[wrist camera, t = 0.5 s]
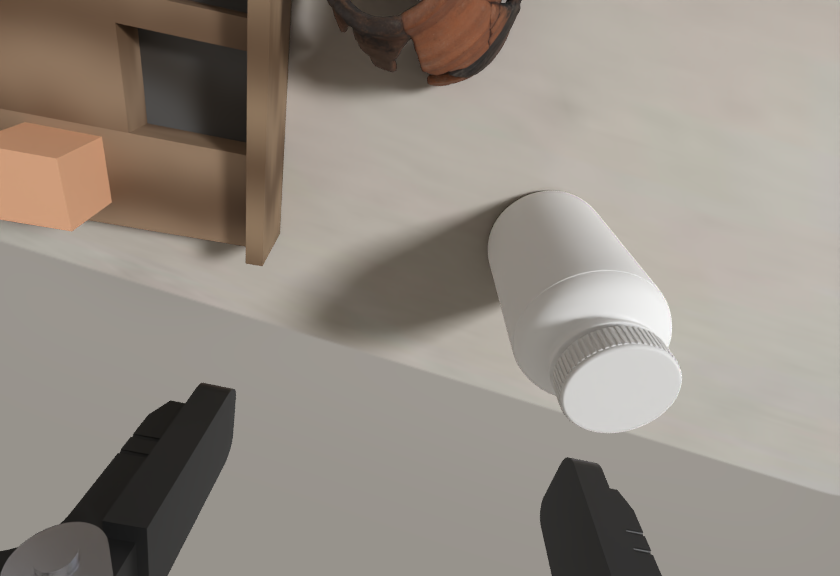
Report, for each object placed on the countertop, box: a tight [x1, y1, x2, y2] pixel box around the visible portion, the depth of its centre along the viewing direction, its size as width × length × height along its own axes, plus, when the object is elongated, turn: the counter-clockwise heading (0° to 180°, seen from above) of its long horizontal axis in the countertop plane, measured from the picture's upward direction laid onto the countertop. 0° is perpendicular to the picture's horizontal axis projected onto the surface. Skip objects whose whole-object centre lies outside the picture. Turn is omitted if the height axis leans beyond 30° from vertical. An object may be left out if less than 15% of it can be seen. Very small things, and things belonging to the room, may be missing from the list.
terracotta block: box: [0, 122, 112, 231], centre depth 26 cm, size 4×4×4 cm
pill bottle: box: [488, 191, 682, 433], centre depth 27 cm, size 8×8×15 cm
